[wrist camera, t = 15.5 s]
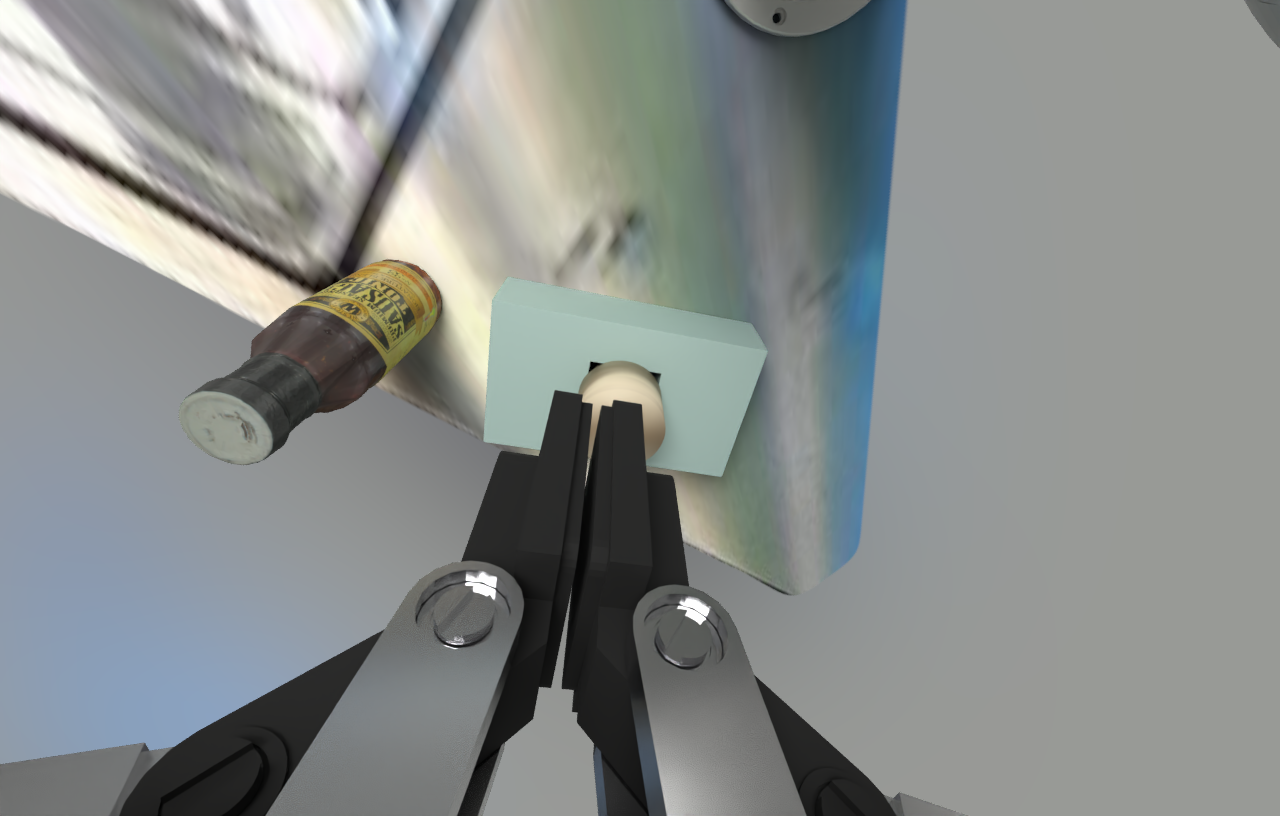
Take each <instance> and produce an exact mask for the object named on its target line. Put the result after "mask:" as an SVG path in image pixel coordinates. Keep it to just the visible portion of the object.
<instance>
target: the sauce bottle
mask: <svg viewBox="0 0 1280 816" xmlns="http://www.w3.org/2000/svg"><path fill="white" fill-rule="evenodd" d="M441 304H442V302H441V296H440V292H439V290H438V288H437V286H436V285H435V283H434V282H433V280H432V279H431V278H430V277H429V276H428V275H427V273H426V272H425V271H423V270H421V269H420V268H419V267H418V266H417V265H413V264H411V263H408V262H403V261H399V260H383V261H382V262H376V263H373V264H370V265H368V266H366V267H364V268H362V269H360V270H358V271H357V272H355V273H353V274H351V275H350V276H348V277H346V278H344V279H342V280H340V281H339V282H337V283H335V284H333V285H331V286H330V287H328V288H326V289H324V290H322V291H320V292H318V293H317V294H315V295H313V296H311V297H309V298H307V299H305V300H303V301H301V302H300V303H298V304H296V305H294V306H292V307H291V308H289V309H288V310H287V311H286V312H284V313H283V314H282V315H281V316H280V317H278V318H277V319H276V320H275V321H274V322H272V323H271V324H270V325H269V326H268V327H267V328H265V329H264V330H263V331H262V332H261V333H259V334H258V335H257V336H256V337H255V338H254V339H253V340H252V346H251V357H250V359H249V360H247V361H246V362H245V363H244V364H243V365H242V366H241V367H240V368H239V369H237V370H235V371H234V372H232V373H231V374H229V375H227V376H226V377H224V378H218V379H215V380H212V381H209V382H207V383H206V384H204V385H203V386H202V387H200V388H199V389H197V390H196V391H195V392H193V393H191V394H190V395H189V396H188V397H186V398H185V399H184V401H183V402H182V404H181V405H180V410H179V420H180V423H181V425H182V429H183V430H184V432H185V433H186V434H187V436H188V438H189V439H190V440H191V441H192V442H193V443H194V444H195V445H196V446H197V447H198V448H200V449H201V450H203V451H204V452H205V453H207V454H208V455H210V456H212V457H215V458H217V459H220V460H222V461H225V462H228V463H231V464H238V465H249V464H253V463H258V462H260V461H262V460H264V459H266V458H267V457H269V456H270V455H271V454H273V453H274V452H275V451H277V450H278V449H280V448H281V447H282V446H283V445H284V444H285V442H286V440H287V438H288V436H289V433H290V432H291V431H292V430H293V429H294V428H295V427H296V426H298V425H299V424H300V423H301V422H302V421H303V420H304V419H306V418H308V417H310V416H311V415H312V414H313V413H319V412H323V413H327V412H331V411H334V410H337V409H341V408H344V407H346V406H347V405H349V404H351V403H352V402H354V401H356V400H357V399H359V398H360V397H361V396H362V395H363V394H364V393H365V392H366V391H367V390H368V389H369V388H371V387H373V386H374V385H376V384H377V383H378V382H379V381H380V380H381V379H382V378H383V377H384V376H385V375H386V374H387V373H388V372H389V371H390V370H391V369H392V368H393V367H394V366H395V365H396V364H397V363H398V362H399V361H400V360H401V359H402V358H403V357H404V356H405V355H406V354H407V353H408V352H409V351H410V350H411V349H412V348H413V347H414V346H415V345H416V344H417V343H418V342H419V341H420V340H421V339H422V338H423V337H424V336H425V335H426V334H427V333H428V332H429V331H430V330H431V328H432V327H433V326H434V323H435V322H436V321H437V319H438V318H439V316H440V312H441Z"/></svg>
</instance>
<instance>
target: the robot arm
mask: <svg viewBox="0 0 1280 816" xmlns="http://www.w3.org/2000/svg"><path fill="white" fill-rule="evenodd" d="M724 1H725V2H726V4H727V5H728V6H729V7H730V8H731V9H732V10H733V11H734V12H735V13H736V14H737V15H738V16H739V17H740V18H741V19H742V20H744V21H745V22H747V23H748V24H750V25H751V26H753V27H755V28H756V29H758V30H761V31H763V32H766V33H769V34H772V35H775V36H786V37H799V36H805V35H812V34H815V33H818V32H821V31H824V30H827V29H829V28H831V27H833V26H835V25H837V24H839V23H841V22H843V21H845V20H847V19H848V18H850V17H851V16H852V15H854V14H855V13H856V12H858V11H859V10H860V9H862V8H863V7H864V6H866V5H867V4H868V3H869V2H870V1H871V0H724ZM1245 2H1246V4H1247V6H1248V7H1249V9H1250V11H1251V13H1252V14H1253V16H1254V17H1255V18H1256V20H1257V21H1258V22H1259V24H1260V25H1261V26H1262V28H1263V29H1264V30H1265V32H1266V33H1267V35H1268V36H1269V37H1270V38H1271V39H1272V41H1274V43H1275V44H1276V45H1277V46H1278V47H1279V48H1280V0H1245ZM774 14H778V15H779V22H778V23H774V22H773V15H774ZM582 398H583V394H577V393H571V392H565V391H559V390H555V391H554V395H553V399H552V403H551V407H550V412H549V416H548V420H547V424H546V428H545V433H544V437H543V441H542V445H541V449H540V454H539V456H534V455H527V454H520V453H513V452H507V451H501V452H500V454H499V456H498V459H497V462H496V465H495V467H494V470H493V473H492V476H491V479H490V482H489V484H488V487H487V490H486V493H485V496H484V499H483V501H482V504H481V507H480V510H479V513H478V516H477V519H476V521H475V524H474V527H473V530H472V533H471V535H470V538H469V541H468V544H467V547H466V550H465V552H464V555H463V558H462V561H461V562H455V563H451V564H448V565H445V566H442V567H440V568H437V569H435V570H433V571H432V572H430V573H429V574H427V575H426V576H424V577H423V578H421V579H420V580H419V581H418V582H417V583H416V585H415V586H414V587H413V588H412V589H411V590H410V591H409V592H408V594H407V596H406V597H405V599H404V600H403V602H402V603H401V605H400V606H399V608H398V610H397V611H396V613H395V614H394V616H393V617H392V619H391V621H390V622H389V624H388V625H387V627H386V628H385V629H384V630H383V631H381V632H379V633H377V634H375V635H373V636H371V637H370V638H368V639H366V640H364V641H362V642H360V643H359V644H357V645H355V646H353V647H351V648H350V649H348V650H346V651H344V652H342V653H340V654H339V655H337V656H335V657H333V658H331V659H329V660H328V661H326V662H324V663H322V664H320V665H318V666H317V667H315V668H313V669H311V670H309V671H307V672H305V673H304V674H302V675H300V676H298V677H297V678H295V679H293V680H291V681H289V682H287V683H285V684H283V685H282V686H280V687H278V688H276V689H275V690H272V691H271V692H269V693H267V694H265V695H263V696H261V697H260V698H258V699H256V700H254V701H252V702H250V703H249V704H247V705H245V706H243V707H241V708H239V709H238V710H236V711H234V712H232V713H230V714H228V715H227V716H225V717H223V718H221V719H219V720H218V721H216V722H214V723H212V724H210V725H208V726H206V727H205V728H203V729H201V730H199V731H197V732H196V733H194V734H193V735H191V736H190V737H189V738H187V739H186V740H184V741H182V742H181V743H179V744H178V745H177V746H175V747H171V748H165V749H158V750H152V751H149V749H148V747H147V746H146V744H145V743H139V744H133V745H126V746H119V747H113V748H106V749H99V750H93V751H86V752H80V753H74V754H66V755H59V756H53V757H46V758H40V759H33V760H26V761H20V762H13V763H6V764H0V816H482V815H483V812H484V809H485V806H486V803H487V800H488V797H489V794H490V791H491V788H492V785H493V782H494V778H495V775H496V772H497V769H498V766H499V763H500V760H501V757H502V754H503V750H504V745H505V742H506V741H507V740H508V739H510V738H511V737H512V736H513V735H514V734H516V733H517V732H518V731H519V730H520V729H521V728H523V727H524V726H525V725H526V724H528V723H529V722H530V721H531V720H532V719H533V716H534V711H535V705H536V700H537V694H538V689H539V687H548V688H551V685H552V680H553V676H554V670H555V666H556V661H557V656H558V651H559V646H560V642H561V636H562V632H563V627H564V622H565V617H566V613H567V608H568V603H569V598H570V593H571V602H570V611H569V620H568V630H567V639H566V649H565V659H564V668H563V677H562V689H570V690H574V695H573V707H572V712H578V715H577V723H578V724H579V726H581V728H582V729H583V730H584V732H585V733H586V734H587V735H588V737H589V738H590V739H591V740H592V742H593V743H594V752H593V760H594V772H595V783H596V794H597V805H598V816H968V815H964V814H961V813H959V812H956V811H953V810H950V809H947V808H944V807H941V806H938V805H935V804H932V803H929V802H926V801H923V800H921V799H918V798H915V797H912V796H909V795H906V794H903V793H898V794H897V795H896V796H895V797H894V798H890V797H888V796H885V795H883V794H882V793H881V792H880V791H879V789H878V788H877V787H876V786H875V785H874V784H873V783H872V782H871V781H870V780H869V778H868V777H866V776H865V775H864V774H863V773H862V772H861V771H860V770H859V769H858V768H857V767H855V766H854V765H853V764H852V763H851V762H850V761H849V760H848V759H847V758H846V757H844V756H843V755H842V754H841V753H840V752H839V751H838V750H837V749H836V748H834V747H833V746H832V745H831V744H830V743H829V742H828V741H827V740H826V739H824V738H823V737H822V736H821V735H820V734H819V733H818V732H817V731H816V730H815V729H813V728H812V727H811V726H810V725H809V724H808V723H807V722H806V721H805V720H803V719H802V718H801V717H800V716H799V715H798V714H797V713H796V712H795V711H793V710H792V709H791V708H790V707H789V706H788V705H787V704H786V703H785V702H784V701H782V700H781V699H780V698H779V697H778V696H777V695H776V694H775V693H774V692H772V691H771V690H770V689H769V688H768V687H767V686H766V685H765V684H764V683H763V682H761V681H760V680H759V679H758V678H757V677H756V676H755V675H754V674H753V671H752V668H751V666H750V663H749V660H748V658H747V655H746V652H745V650H744V647H743V644H742V642H741V639H740V636H739V633H738V631H737V628H736V626H735V624H734V622H733V621H732V619H731V617H730V615H729V613H728V612H727V611H726V610H725V609H724V608H723V607H722V606H721V605H720V604H719V602H717V601H716V600H714V599H713V598H712V597H710V596H709V595H707V594H706V593H704V592H702V591H700V590H697V589H694V588H692V587H689V583H688V576H687V569H686V561H685V554H684V547H683V540H682V532H681V525H680V518H679V511H678V504H677V496H676V489H675V483H674V479H673V477H672V476H670V475H663V474H656V473H650V472H646V457H645V442H644V427H643V412H642V404H638V403H632V402H625V401H619V400H613V403H612V407H610V406H604V405H602V406H601V410H600V415H599V420H598V425H597V430H596V435H595V440H594V445H593V450H592V455H591V460H590V465H589V471H588V476H587V481H586V486H585V480H586V470H587V460H588V450H589V439H590V429H591V419H592V409H593V404H592V403H586V402H582ZM584 490H585V491H584ZM571 588H572V592H571Z"/></svg>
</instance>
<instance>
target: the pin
mask: <svg viewBox="0 0 1280 816" xmlns="http://www.w3.org/2000/svg"><path fill="white" fill-rule="evenodd" d="M578 394H583V398H582V402H586V403H592V404H593V409H592V419H591V429H590V439H589V450H588V457H589V458H590V459H591V455H592V450H593V445H594V440H595V435H596V430H597V425H598V420H599V415H600V410H601V406H602V405H604V406H610V407H612V403H613V400H619V401H625V402H632V403H638V404H642V412H643V427H644V442H645V457H646V460H647V459H649V458H650V457H651V456H653V455H654V454H655V453H656V452H657V450H658V449H659V448H660V446H661V444H662V443H663V440H664V437H665V429H666V427H665V419H664V412H663V404H662V397H661V390H660V386H659V384H658V382H657V380H656V379H655V377H654V376H653V375H652V374H651V373H650V372H649V371H648V370H647V369H645V368H644V367H642V366H640V365H638V364H636V363H633V362H628V361H610V362H606V363H597V367H595V368H594V369H592V370H591V371H590V372H589V373H588V374H587V375H586V376H585V377H584V379H583V381H582V382H581V385H580V387H579V391H578Z"/></svg>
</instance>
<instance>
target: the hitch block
mask: <svg viewBox="0 0 1280 816" xmlns="http://www.w3.org/2000/svg"><path fill="white" fill-rule="evenodd" d="M767 353H768V350H767V348H766V347H765V345H764V343H763V342H762V340H761V338H760V337H759V335H758V333H757V332H756V330H755V328H754V327H753V325H752V323H747V322H741V321H736V320H731V319H726V318H721V317H715V316H710V315H705V314H700V313H694V312H689V311H684V310H679V309H674V308H668V307H663V306H658V305H653V304H648V303H642V302H637V301H632V300H627V299H622V298H616V297H611V296H606V295H601V294H595V293H590V292H585V291H580V290H575V289H569V288H564V287H559V286H554V285H549V284H543V283H538V282H533V281H528V280H522V279H517V278H512V277H507V279H506V280H505V282H504V283H503V285H502V286H501V288H500V289H499V291H498V292H497V294H496V295H495V297H494V298H493V300H492V312H491V328H490V345H489V361H488V378H487V394H486V411H485V427H484V442H489V443H496V444H502V445H509V446H516V447H523V448H529V449H536V450H540V449H541V445H542V441H543V437H544V433H545V428H546V424H547V420H548V416H549V412H550V407H551V403H552V399H553V395H554V391H555V390H559V391H565V392H571V393H577V394H578V391H579V387H580V385H581V382H582V381H583V379H584V377H585V376H586V375H587V374H588V372H589V366H590V361H592V362H598V363H606V362H610V361H628V362H633V363H636V364H638V365H640V366H642V367H644V368H645V369H647V370H648V371H649V372H650V373H651V374H652V375H653V376H654V377H655V379H656V380H657V382H658V384H659V386H660V390H661V397H662V404H663V412H664V419H665V427H666V429H665V437H664V440H663V443H662V444H661V446H660V448H659V449H658V450H657V452H656V453H655V454H654V455H653V456H651V457H650V458H649V459H647V460H646V466H651V467H657V468H664V469H671V470H678V471H684V472H691V473H698V474H705V475H711V476H718V477H722V475H723V472H724V469H725V466H726V464H727V461H728V458H729V456H730V453H731V450H732V447H733V445H734V442H735V439H736V437H737V434H738V431H739V429H740V426H741V423H742V420H743V418H744V415H745V412H746V410H747V407H748V404H749V401H750V399H751V396H752V393H753V391H754V388H755V385H756V383H757V380H758V377H759V374H760V372H761V369H762V366H763V364H764V361H765V358H766V355H767Z"/></svg>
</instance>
